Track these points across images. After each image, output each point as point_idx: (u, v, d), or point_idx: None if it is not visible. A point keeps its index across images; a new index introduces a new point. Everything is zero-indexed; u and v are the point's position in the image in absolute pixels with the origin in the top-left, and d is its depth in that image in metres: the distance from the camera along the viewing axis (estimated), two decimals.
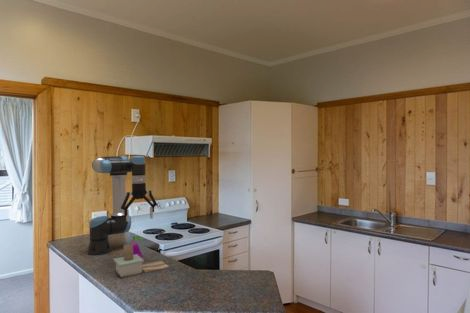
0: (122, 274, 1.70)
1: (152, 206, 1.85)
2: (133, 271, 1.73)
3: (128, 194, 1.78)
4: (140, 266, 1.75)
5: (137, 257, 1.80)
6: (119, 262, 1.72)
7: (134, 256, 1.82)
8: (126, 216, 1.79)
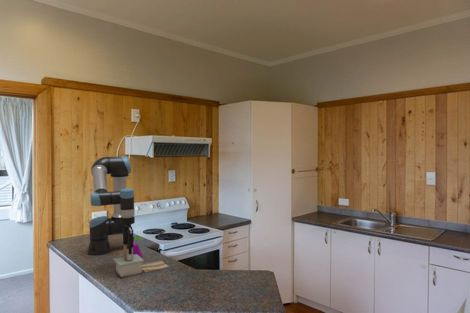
0: (122, 274, 1.70)
1: (127, 247, 1.74)
2: (133, 271, 1.73)
3: (122, 228, 1.81)
4: (140, 266, 1.75)
5: (137, 257, 1.80)
6: (119, 262, 1.72)
7: (134, 256, 1.82)
8: None
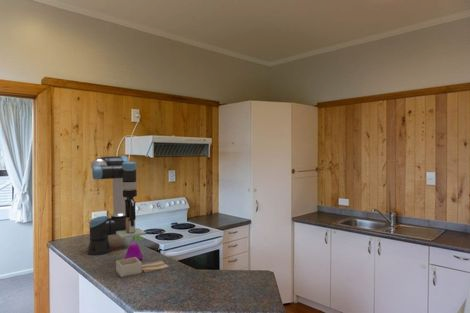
0: (122, 274, 1.70)
1: None
2: (133, 271, 1.73)
3: (125, 201, 1.82)
4: (140, 266, 1.75)
5: (139, 230, 1.81)
6: (121, 234, 1.73)
7: (136, 229, 1.83)
8: None
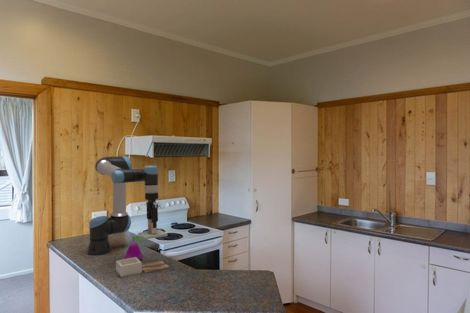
0: (122, 274, 1.70)
1: (152, 221, 1.81)
2: (133, 271, 1.73)
3: (146, 204, 1.89)
4: (140, 266, 1.75)
5: (160, 231, 1.88)
6: (144, 235, 1.80)
7: (157, 231, 1.90)
8: None
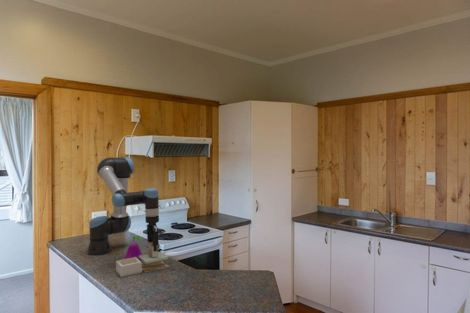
0: (122, 274, 1.70)
1: None
2: (133, 271, 1.73)
3: (147, 226, 1.89)
4: (140, 266, 1.75)
5: (161, 254, 1.88)
6: (145, 259, 1.80)
7: (158, 253, 1.90)
8: None
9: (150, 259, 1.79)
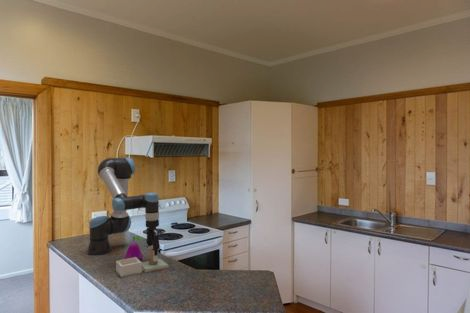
0: (122, 274, 1.70)
1: (153, 248, 1.80)
2: (133, 271, 1.73)
3: (147, 230, 1.89)
4: (140, 266, 1.75)
5: (161, 261, 1.88)
6: (145, 266, 1.80)
7: (158, 260, 1.90)
8: None
9: (150, 267, 1.80)
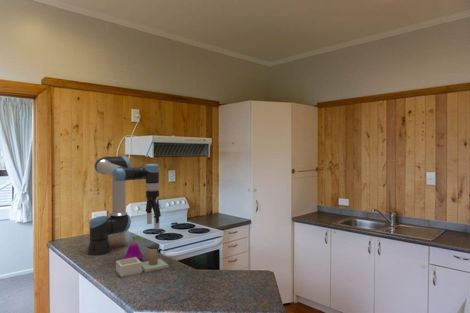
0: (122, 274, 1.70)
1: None
2: (133, 271, 1.73)
3: (147, 199, 1.92)
4: (140, 266, 1.75)
5: (161, 261, 1.88)
6: (145, 266, 1.80)
7: (158, 260, 1.90)
8: None
9: (150, 267, 1.80)
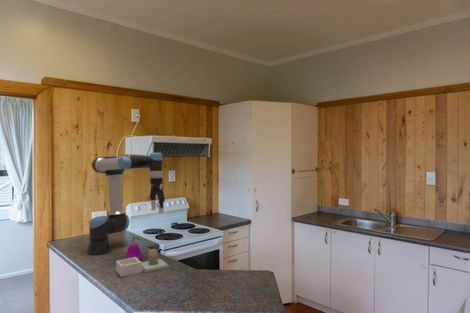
0: (122, 274, 1.70)
1: (159, 201, 1.91)
2: (133, 271, 1.73)
3: (151, 186, 2.02)
4: (140, 266, 1.75)
5: (161, 261, 1.88)
6: (145, 266, 1.80)
7: (158, 260, 1.90)
8: None
9: (150, 267, 1.80)
